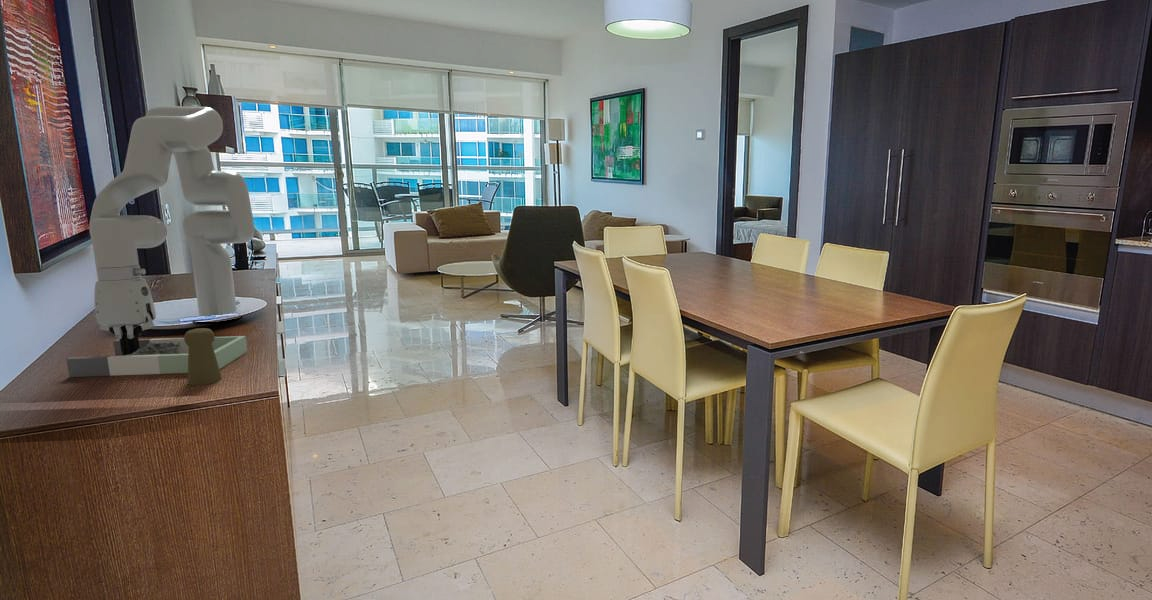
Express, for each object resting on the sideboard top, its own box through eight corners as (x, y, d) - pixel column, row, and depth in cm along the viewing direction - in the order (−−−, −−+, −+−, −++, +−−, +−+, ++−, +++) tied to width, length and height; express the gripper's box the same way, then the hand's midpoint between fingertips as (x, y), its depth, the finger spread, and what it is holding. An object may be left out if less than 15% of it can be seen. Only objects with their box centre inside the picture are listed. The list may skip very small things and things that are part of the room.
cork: (221, 382, 120) (215, 330, 118) (186, 387, 117) (179, 334, 115) (222, 374, 125) (216, 324, 123) (188, 379, 122) (181, 327, 120)
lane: (118, 355, 139) (116, 339, 138) (247, 351, 142) (245, 335, 142) (69, 377, 124) (66, 358, 123) (215, 371, 127) (213, 354, 126)
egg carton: (160, 368, 127) (155, 350, 126) (123, 372, 126) (119, 354, 125) (186, 353, 137) (183, 336, 136) (153, 356, 136) (149, 339, 135)
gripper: (165, 271, 133) (175, 349, 136) (94, 272, 131) (107, 351, 135) (144, 276, 125) (156, 358, 129) (69, 277, 124) (83, 360, 127)
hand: (131, 354), depth 132 cm, fingers closed
